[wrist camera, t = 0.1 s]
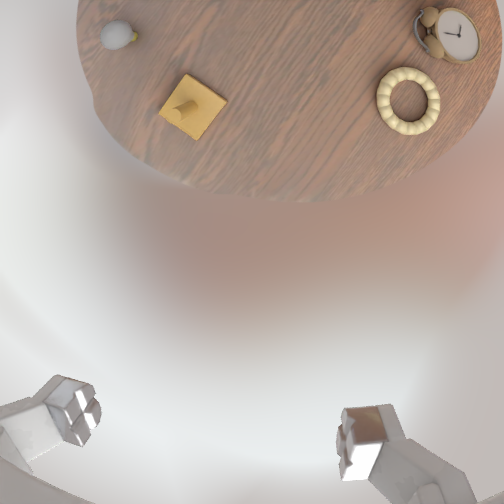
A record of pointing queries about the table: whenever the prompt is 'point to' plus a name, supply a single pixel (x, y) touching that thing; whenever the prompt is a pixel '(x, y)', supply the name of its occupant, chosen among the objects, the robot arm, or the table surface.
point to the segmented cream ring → (386, 109)
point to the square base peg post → (192, 106)
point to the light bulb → (117, 35)
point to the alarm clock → (449, 35)
